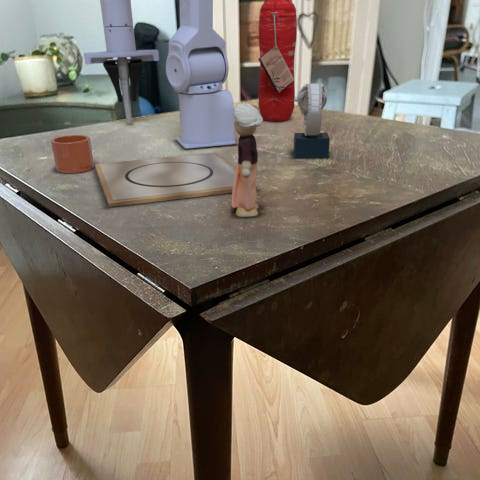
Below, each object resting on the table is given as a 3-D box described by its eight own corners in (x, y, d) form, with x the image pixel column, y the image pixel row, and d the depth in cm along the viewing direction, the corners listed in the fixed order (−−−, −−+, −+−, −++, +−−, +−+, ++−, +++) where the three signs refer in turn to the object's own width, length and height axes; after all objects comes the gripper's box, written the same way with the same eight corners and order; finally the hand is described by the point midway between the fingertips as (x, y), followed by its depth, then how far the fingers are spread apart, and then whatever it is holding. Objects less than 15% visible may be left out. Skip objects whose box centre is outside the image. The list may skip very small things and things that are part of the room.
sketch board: (216, 156, 91) (216, 151, 90) (255, 190, 75) (255, 184, 74) (95, 167, 86) (94, 163, 85) (109, 207, 69) (108, 201, 69)
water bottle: (290, 127, 110) (294, -18, 97) (251, 125, 111) (251, -17, 98) (297, 115, 120) (302, -17, 107) (262, 114, 121) (262, -16, 109)
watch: (324, 148, 94) (329, 80, 88) (329, 160, 87) (334, 87, 81) (292, 148, 94) (294, 80, 89) (294, 160, 87) (297, 87, 82)
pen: (137, 121, 115) (129, 48, 108) (133, 124, 113) (125, 49, 106) (125, 121, 116) (116, 48, 108) (122, 124, 113) (112, 50, 106)
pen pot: (92, 161, 89) (88, 133, 87) (95, 171, 84) (91, 141, 82) (55, 165, 87) (50, 136, 85) (57, 174, 83) (51, 144, 80)
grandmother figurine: (229, 202, 70) (226, 98, 64) (258, 201, 70) (258, 97, 64) (233, 224, 64) (231, 110, 57) (266, 222, 64) (267, 109, 57)
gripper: (151, 24, 110) (158, 95, 117) (78, 26, 106) (90, 100, 113) (158, 25, 104) (164, 100, 111) (81, 28, 101) (92, 105, 108)
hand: (127, 100), depth 112 cm, fingers closed on pen, 2 cm apart
